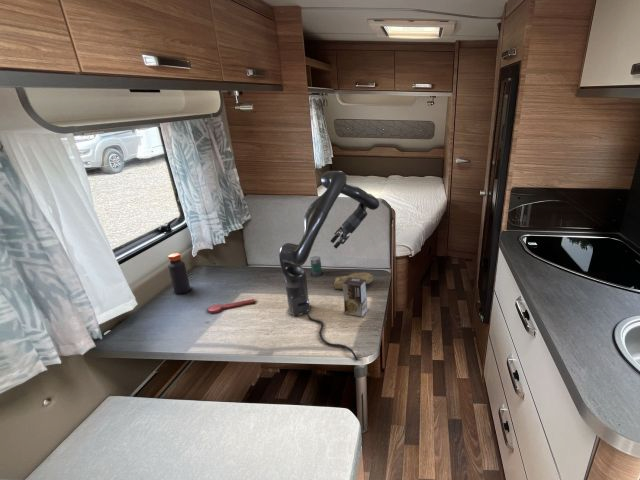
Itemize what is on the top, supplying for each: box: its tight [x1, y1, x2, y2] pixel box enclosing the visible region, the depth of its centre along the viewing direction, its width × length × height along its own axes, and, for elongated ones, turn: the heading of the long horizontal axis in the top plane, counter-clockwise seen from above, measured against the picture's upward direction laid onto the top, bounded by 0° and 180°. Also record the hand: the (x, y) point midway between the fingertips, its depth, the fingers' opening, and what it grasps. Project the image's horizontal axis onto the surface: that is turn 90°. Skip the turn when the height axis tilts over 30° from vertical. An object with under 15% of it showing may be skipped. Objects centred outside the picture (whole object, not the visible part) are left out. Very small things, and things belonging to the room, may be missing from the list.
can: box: [310, 255, 323, 277], centre depth 191 cm, size 6×6×10 cm
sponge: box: [333, 271, 374, 290], centre depth 179 cm, size 13×8×20 cm
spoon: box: [207, 298, 255, 314], centre depth 159 cm, size 6×20×1 cm, turn 115°
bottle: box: [167, 252, 191, 295], centre depth 169 cm, size 7×7×20 cm
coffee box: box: [342, 277, 368, 317], centre depth 155 cm, size 9×6×16 cm
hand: (333, 244), depth 191 cm, fingers open, 8 cm apart
